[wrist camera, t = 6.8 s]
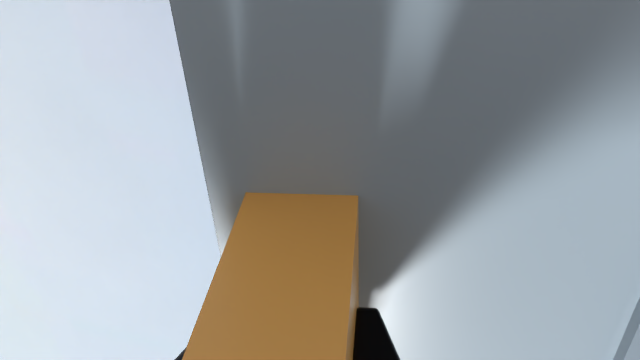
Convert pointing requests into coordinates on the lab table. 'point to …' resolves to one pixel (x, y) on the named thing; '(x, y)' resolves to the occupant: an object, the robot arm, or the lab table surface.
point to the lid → (418, 176)
